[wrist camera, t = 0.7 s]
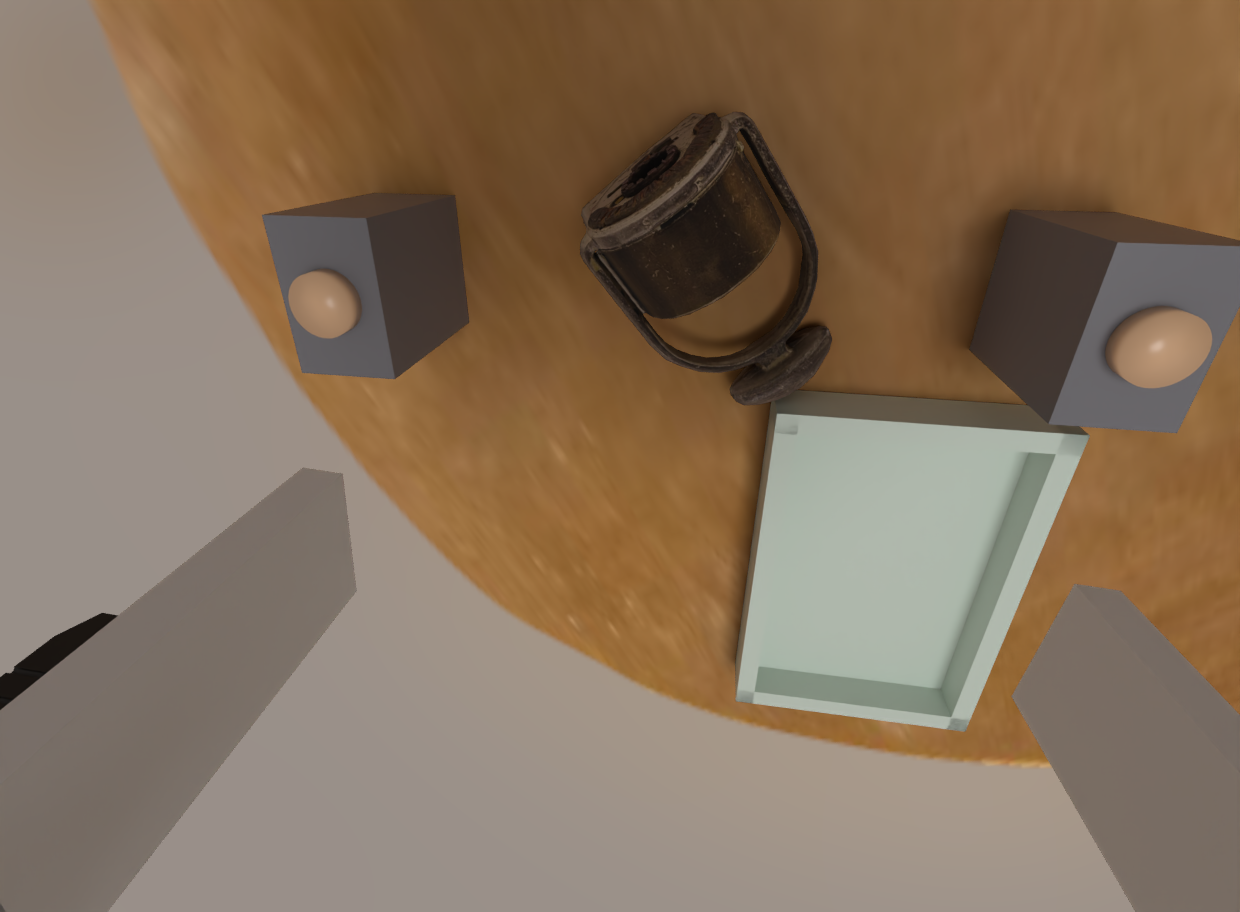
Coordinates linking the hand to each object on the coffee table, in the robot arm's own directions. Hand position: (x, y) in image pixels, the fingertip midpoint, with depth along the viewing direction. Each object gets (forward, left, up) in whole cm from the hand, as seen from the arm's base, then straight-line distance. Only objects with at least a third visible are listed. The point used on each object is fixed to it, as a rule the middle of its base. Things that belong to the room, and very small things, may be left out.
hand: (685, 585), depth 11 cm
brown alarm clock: (0, -2, -21) cm, 21 cm away
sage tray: (-10, +13, -20) cm, 26 cm away
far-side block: (+14, -2, -20) cm, 25 cm away
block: (-14, -2, -20) cm, 25 cm away
